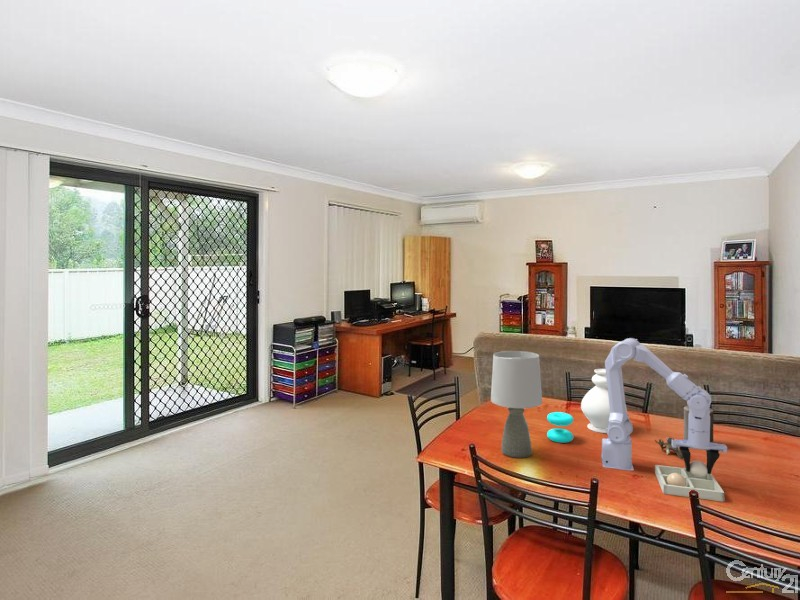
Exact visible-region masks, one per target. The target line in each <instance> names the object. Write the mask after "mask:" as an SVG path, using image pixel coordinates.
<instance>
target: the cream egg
mask: <svg viewBox="0 0 800 600" xmlns="http://www.w3.org/2000/svg"><path fill="white" fill-rule="evenodd" d="M706 465H707V464H705V463H704V462H703V461H700V460H693V461H690V473H691V474H692V475H693V476H695V477H699V478H701V477H704V476H706V475H707V472H708V469H707V466H706Z"/></svg>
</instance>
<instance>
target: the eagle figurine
mask: <svg viewBox="0 0 800 600" xmlns="http://www.w3.org/2000/svg"><path fill="white" fill-rule="evenodd" d="M665 439H666V442H665V440H664V439H662V438H661V439H660V438H659V439H658V441H657V439H654V442H655V443H656V444H658V445H659V446H660V449H661V451H664V449H665V452H666V456H668V455H669V454H670V452H671V451H673V452H674V453H675V454H676V455H677V456H678V458H680V459H683V460H684V458H683V456H682V453H681V451H680V449H679V447H676V448H674V447H672V440H676V439H675V438H672V437H669V438H668V437H667V436H666V437H665Z"/></svg>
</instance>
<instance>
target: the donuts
mask: <svg viewBox="0 0 800 600" xmlns="http://www.w3.org/2000/svg"><path fill="white" fill-rule="evenodd" d="M546 420H547V421H548V423H550V424H552V425H554V426H558V427H565V426H570V425H573V422H574V417H573V416H572V414H570V413H566V412H561V411H555V412H550V413H548V414H547V417H546ZM546 436H547V438H548V439H549V441H552V442H554V443H559V444H560V443H561V444H564V443H565V444H566V443H570V442H572V441H573V439H574V435H573V433H572V432H571V431H570V430H568V429H565V428H557V427H556V428H551V429H549V430H547V433H546Z"/></svg>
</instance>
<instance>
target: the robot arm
mask: <svg viewBox="0 0 800 600" xmlns="http://www.w3.org/2000/svg"><path fill="white" fill-rule="evenodd" d="M632 358H633V362H639V363H643V364H645V365H647V366H648V367H649V368H651V369H652V370H653V371H655V372H656V373H657V374H659V376H661V377H662V378H664V379H665V381H666V386H667V387H669V389H670V390H672V391H673V392H674V393H676V394H677V395H678V396H679V397H680V398H682V400H684V401H686V404H687V406H689V414H688V415H689V416H688V440H684V439H675V440H672V447H674V448H676V447H678V449H680V451H681V453H682V456H683V458H684V459H683V461H684V465H685V468H686V470H687V472H690V463H691V455H692V453H691V451H690V449H691V450H692V449H694V450H704V451H706V464H705V465H706V466H707V469H708V472H707V473H708V474H712V471H713V468H714V465H715V464H716V462H717V460H718V459H719V458H720V456H721V454H720V452H722V453H725V454H727V453H728V446H727V445H726V444H725V443H724V444H723V443H722V444H721V443H717V442H713V443H712V442H710V409H711V408H710V407H711V403H712V396H711V394H710V393H708V391H707V389H706V390H705V389H702V387H701V386H700V385H698V386H697V385H696V384H695V383H694V382H693V381H691V379H689V376H688V375H687V374H686V373H682V372H679V371H673V370H672V369H671V368H670V367H669V366H668V365H666V364H665V363H664V362H663V361H662V360H661V359H659V357H658V356H656V354H655V353H653V352H652V351H651V350H650V349H649V348H648V347H647V346H646V345H644V344H643V343H640V342H639V340H637V339H636V338H634V337H629V338H628V337H627V338H625V339H624V340H621V341H619V342H617V343H616V344H615V345H614V346H612V347H611V349H610V351H609V354H608V355H607V357H606V359H605V361H604V369H605V370H606V379H607V388H608V397H609V406H610V417H609V427H608V429H607V433H606V434H607V437H608V438H607V437H606V438H602V439H601V455H600V459H601V462H602V463H601V464H602V467H603V468H607V469H614V470H615V469H616V470H624V471H632V472H633V471H634V470H635V469H634V465H633V463H632V462H633V461H632V450H633V449H632V441H633V439H632V438H631V436H630V435H631V434H632V433H633V430H634V426H633V424H632V422H631V420H630V416H629V414H628V411H627V412H626V407H627V405H626V396H625V387H624V379H623V378H624V377H623V371H622V369H623V368H622V367H623V365H625V363H627V361H630V360H631V359H632Z"/></svg>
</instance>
